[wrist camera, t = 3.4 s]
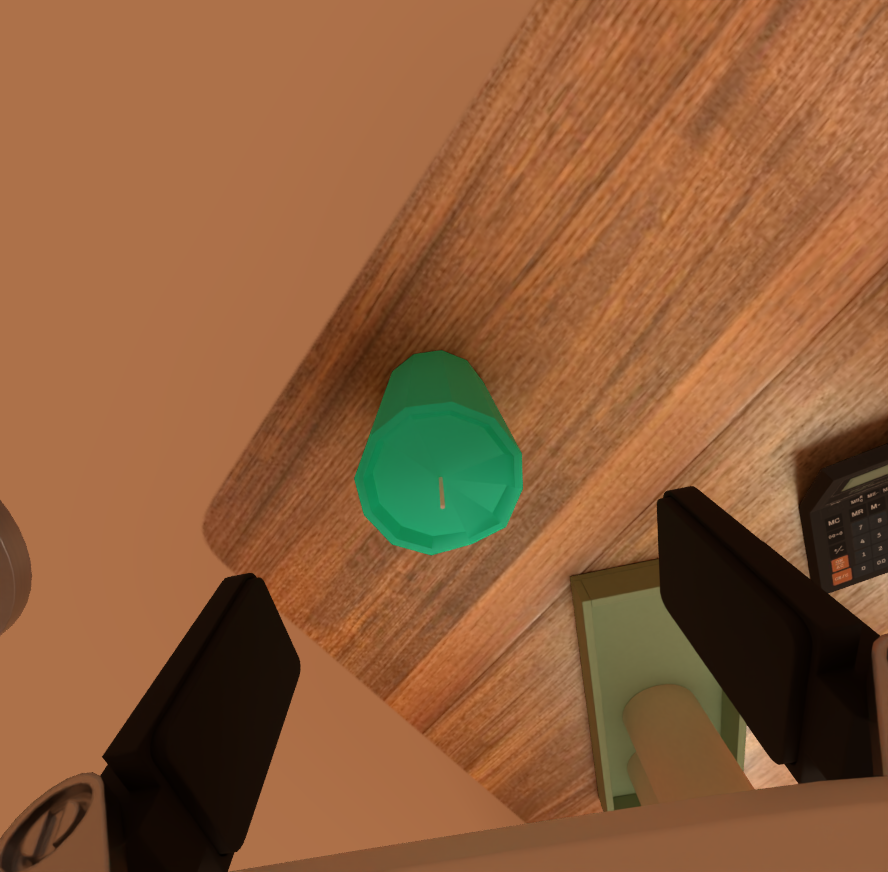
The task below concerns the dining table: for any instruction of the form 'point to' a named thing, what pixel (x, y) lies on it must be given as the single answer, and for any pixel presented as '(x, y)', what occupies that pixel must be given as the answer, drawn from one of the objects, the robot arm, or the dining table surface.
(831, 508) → the calculator
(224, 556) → the dining table surface
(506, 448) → the candle
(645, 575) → the tray
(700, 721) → the cream candle
